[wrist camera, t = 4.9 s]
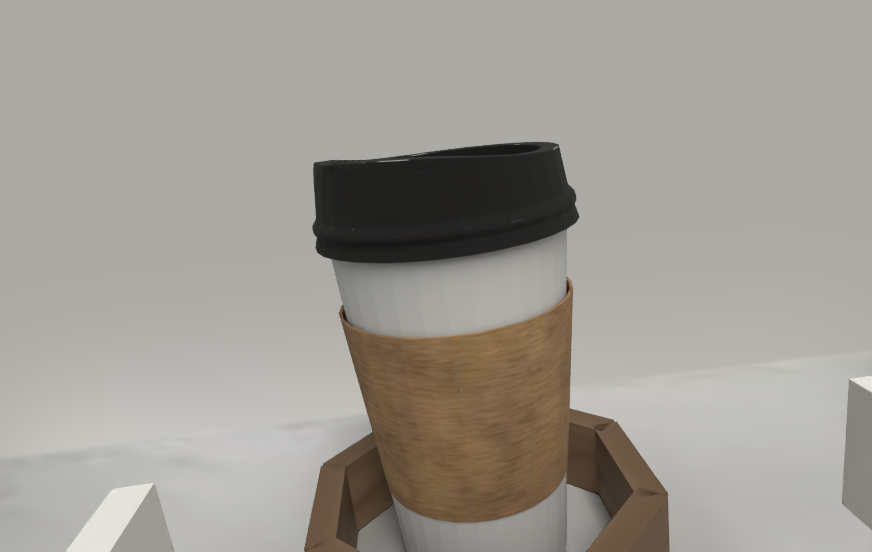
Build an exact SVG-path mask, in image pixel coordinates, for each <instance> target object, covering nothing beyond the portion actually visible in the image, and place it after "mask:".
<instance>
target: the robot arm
mask: <svg viewBox="0 0 872 552" xmlns="http://www.w3.org/2000/svg"><path fill="white" fill-rule="evenodd" d="M842 504H843V505H844V506H845V507H846V508H847V509H849V510H850V511H851V512H852V513H853V514H854V515H855V516H857V517H858V518H859V519H860V520H861V521H862V522H863V523H864V524H866V525H867V526H868V527H869V528H870V529H871V530H872V376H866V377H860V378H853V379H849V390H848V408H847V425H846V442H845V459H844V476H843V493H842ZM66 552H174V549H173V545H172V542H171V539H170V535H169V532H168V528H167V525H166V521H165V518H164V515H163V511H162V508H161V504H160V501H159V497H158V494H157V490H156V487H155V484H154V483H150V484H143V485H136V486H130V487H123V488H116V489H112V490H111V492H110V493H109V494H108V496H107V497H106V498H105V500H104V501H103V502H102V504H101V505H100V506H99V508H98V509H97V510H96V512H95V513H94V514H93V516H92V517H91V518H90V520H89V521H88V522H87V524H86V525H85V526H84V528H83V529H82V530H81V532H80V533H79V534H78V536H77V537H76V539H75V540H74V541H73V543H72V544H71V545H70V547H69V548H68V549H67V551H66Z"/></svg>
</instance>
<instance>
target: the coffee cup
mask: <svg viewBox="0 0 872 552" xmlns="http://www.w3.org/2000/svg"><path fill="white" fill-rule="evenodd" d="M313 172H314V173H313V175H314V192H315V208H316V220H315V222H314V224H313V226H312V228H313V232H314V234H315V236H316V237H317V241H316V250H317V252H318V253H319V254H320V255H322V256H323V257H326V258H330V259H331V260H332V264H333V267H334V271H335V275H336V279H337V283H338V287H339V291H340V294H341V298H342V302H343V305H342V306H341V309H340V312H339V315H340V319H341V322H342V325H343V329H344V332H345V336H346V340H347V343H348V347H349V350H350V354H351V357H352V361H353V364H354V367H355V371H356V374H357V378H358V382H359V385H360V389H361V392H362V396H363V399H364V403H365V406H366V410H367V413H368V417H369V420H370V424H371V427H372V431H373V434H374V438H375V441H376V445H377V448H378V452H379V455H380V459H381V462H382V466H383V469H384V473H385V476H386V480H387V483H388V487H389V490H390V492H391V494H392V498H393V502H394V506H395V510H396V514H397V518H398V522H399V526H400V530H401V533H402V537H403V541H404V545H405V549H406V552H566V470H567V466H568V439H569V405H570V369H571V368H570V367H571V336H572V334H571V333H572V302H573V301H572V300H573V287H572V282H571V281H570V280H569V278H568V277H567V276H566V252H567V249H566V247H567V243H566V242H567V241H566V239H567V238H566V237H567V228H569V227H570V226H571V225H573V224H574V223H576V222H577V220H578V218H579V214H578V212H577V209H576V207H575V201H576V194H575V191H574V189H572V187H570V186H569V185H568V183H567V179H566V175H565V170H564V166H563V162H562V157H561V153H560V148H559V145H558V144H555V143H549V142H523V143H507V144H494V145H483V146H474V147H464V148H457V149H448V150H440V151H433V152H426V153H419V154H411V155H404V156H396V157H389V158H380V159H372V160H330V161H323V162H315V163H314V168H313Z"/></svg>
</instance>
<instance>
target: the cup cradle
mask: <svg viewBox="0 0 872 552" xmlns="http://www.w3.org/2000/svg"><path fill="white" fill-rule="evenodd" d="M566 483H569V484H572V485H575V486H578V487H581V488H583V489H586V490H589V491H592V492H595V493H598V494H599V495H600V497H601V498H602V500H603V502H604V504H605V506H606V508H607V510H608V512H609V513H610V515H611V517H612V520H611V521H610V522H609V524H608V525H607V526H606V527H605V529H604V530H603V531H602V532H601V534H600V535H599V536H598V537H597V539H596V540H595V541H594V542H593V544H592V545H591V546H590V547H589V549H588V550H587V551H586V552H669V521H668V493H667V491H666V490H665V489H664V487H663V486H662V484H661V483H660V482H659V480H658V479H657V477H656V476H655V475H654V473H653V472H652V470H651V469H650V468H649V466H648V465H647V463H646V462H645V461H644V459H643V458H642V456H641V455H640V454H639V452H638V451H637V449H636V448H635V447H634V445H633V444H632V442H631V441H630V440H629V438H628V437H627V435H626V434H625V433H624V431H623V430H622V428H621V427H620V426H619V424H618V423H617V421H616V422H614V420H612V419H608V418H604V417H600V416H596V415H593V414H589V413H585V412H581V411H577V410H573V409H569V439H568V466H567V470H566ZM393 503H394V502H393V498H392V494H391V492H390V490H389V487H388V483H387V480H386V476H385V473H384V469H383V466H382V462H381V459H380V455H379V452H378V448H377V445H376V441H375V438H374V434H373V432H372V433H370V434H369V435H367V436H366V437H364V438H363V439H361V440H359V441H358V442H356V443H355V444H353V445H352V446H350V447H349V448H347V449H345V450H344V451H342V452H341V453H339V454H338V455H336V456H334V457H333V458H331V459H330V460H328V461H327V462H325V463H323V466H321V469H320V474H319V479H318V484H317V489H316V494H315V499H314V504H313V508H312V513H311V518H310V523H309V528H308V533H307V538H306V543H305V548H304V551H305V552H360V551H358V550H356V546H357V535H358V531H359V530H360V529H361V528H362V527H364V526H365V525H366V524H368V523H369V522H370V521H371V520H373V519H374V518H375V517H377V516H378V515H379V514H380V513H382V512H383V511H384V510H386V509H387V508H388V507H389V506H391V505H392V504H393Z"/></svg>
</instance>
